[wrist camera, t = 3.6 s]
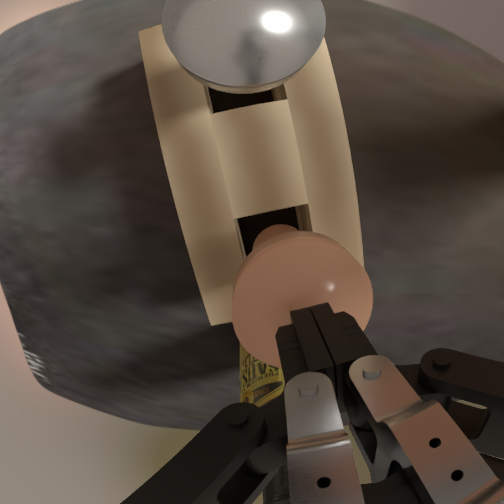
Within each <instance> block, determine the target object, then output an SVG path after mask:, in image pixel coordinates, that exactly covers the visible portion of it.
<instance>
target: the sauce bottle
mask: <svg viewBox="0 0 504 504" xmlns="http://www.w3.org/2000/svg"><path fill="white" fill-rule="evenodd" d="M284 385H285V382H284V376H283V372H282V368H278V367H274V366H271V365H268V364H266V363H263V362H262V361H260V360H258V359H256V358H255V357H254V356H252V355H251V354H250V353H249V352H248V351H247V350H246V349H245V348H244V347H243V346H242V344H241V343H240V402H247V403H252V404H254V405H256V406H258V407H262V406H264V405H266V404H268V403H270V402H272V401H274V400H275V399H276V398H277V397H278V396H279V395H280V394H281V393H282V391H283V389H284ZM263 504H290V496H289V480H288V464H285V465H283V466H281V467H279V469H278V471H277V473H276V474H275V475H274V477H273V478H272V479H271V481H270V482H269V483H268V485H267V486H266V487H265V488H264V490H263Z"/></svg>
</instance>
